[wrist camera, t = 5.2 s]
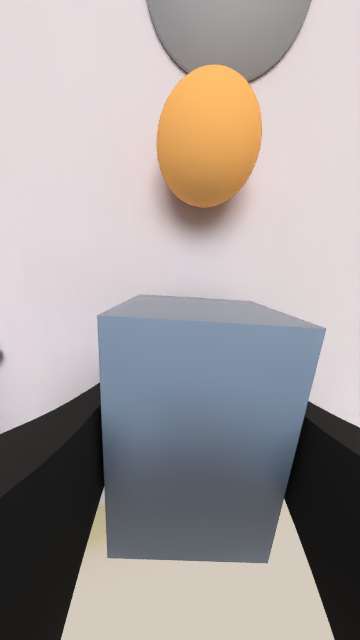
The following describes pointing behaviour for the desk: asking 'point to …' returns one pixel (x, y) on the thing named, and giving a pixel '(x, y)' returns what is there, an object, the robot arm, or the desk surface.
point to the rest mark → (228, 32)
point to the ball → (209, 136)
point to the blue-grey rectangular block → (200, 424)
